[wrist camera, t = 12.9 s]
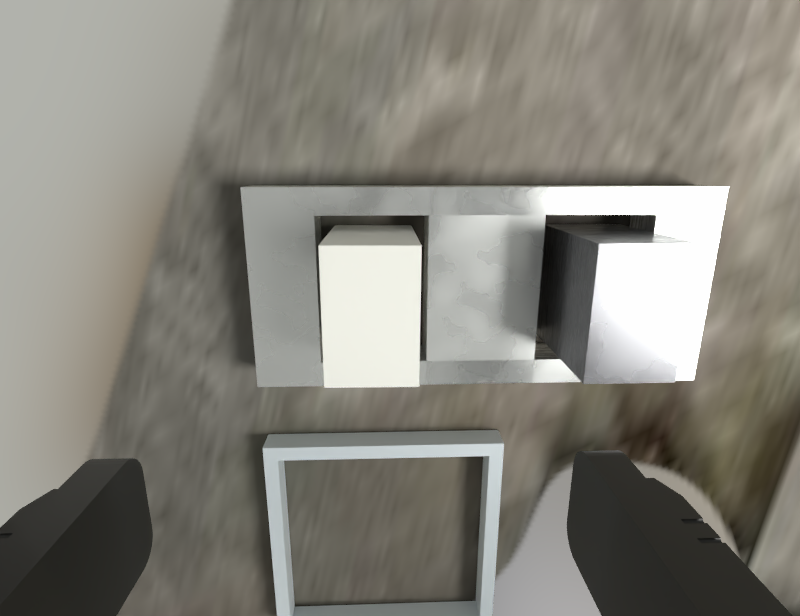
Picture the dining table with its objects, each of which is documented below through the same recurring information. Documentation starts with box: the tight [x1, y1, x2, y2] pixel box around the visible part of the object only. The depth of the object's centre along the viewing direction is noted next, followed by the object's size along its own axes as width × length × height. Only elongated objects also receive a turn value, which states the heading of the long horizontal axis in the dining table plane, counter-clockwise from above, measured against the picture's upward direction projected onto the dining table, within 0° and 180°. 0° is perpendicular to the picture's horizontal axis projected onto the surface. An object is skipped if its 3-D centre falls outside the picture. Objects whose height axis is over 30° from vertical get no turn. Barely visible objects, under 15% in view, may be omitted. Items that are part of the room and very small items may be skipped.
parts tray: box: [263, 430, 504, 616], centre depth 30 cm, size 14×14×2 cm
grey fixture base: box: [240, 185, 729, 387], centre depth 23 cm, size 23×10×7 cm, turn 90°
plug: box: [318, 225, 422, 388], centre depth 23 cm, size 4×6×7 cm, turn 0°
